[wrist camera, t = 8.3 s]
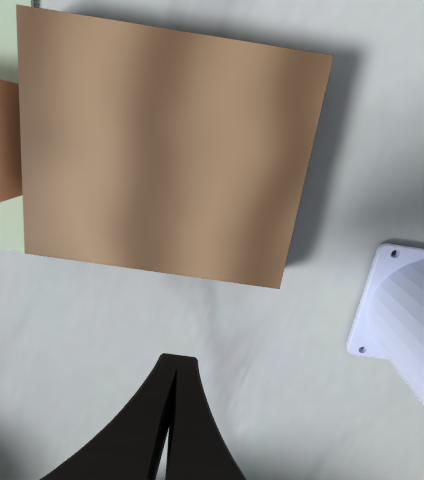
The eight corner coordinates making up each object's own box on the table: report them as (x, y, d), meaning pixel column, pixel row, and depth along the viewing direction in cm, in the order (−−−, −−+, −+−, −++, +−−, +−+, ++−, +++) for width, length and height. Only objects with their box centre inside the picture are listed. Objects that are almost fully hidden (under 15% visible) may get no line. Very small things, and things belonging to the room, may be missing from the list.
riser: (317, 66, 18) (333, 55, 15) (272, 271, 21) (279, 289, 19) (44, 21, 17) (16, 4, 15) (46, 239, 21) (24, 253, 18)
